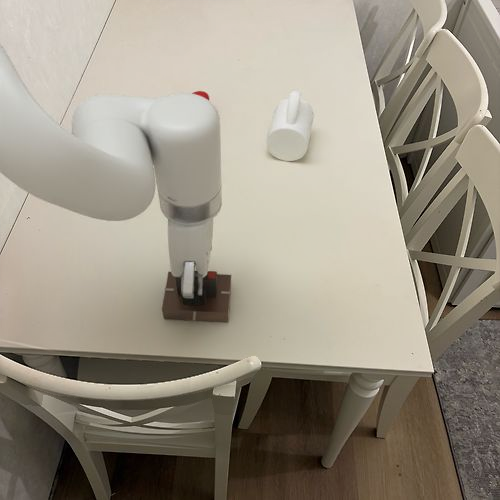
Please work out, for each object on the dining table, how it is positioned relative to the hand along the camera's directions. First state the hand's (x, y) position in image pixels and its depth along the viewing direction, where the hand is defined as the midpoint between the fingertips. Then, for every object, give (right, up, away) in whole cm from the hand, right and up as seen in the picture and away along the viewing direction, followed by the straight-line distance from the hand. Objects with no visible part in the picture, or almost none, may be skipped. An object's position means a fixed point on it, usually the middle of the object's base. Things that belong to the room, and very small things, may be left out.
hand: (198, 275), depth 72 cm
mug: (+16, +26, +30) cm, 43 cm away
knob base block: (-1, -4, +6) cm, 7 cm away
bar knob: (0, -3, +3) cm, 4 cm away
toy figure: (-7, +32, +34) cm, 47 cm away
